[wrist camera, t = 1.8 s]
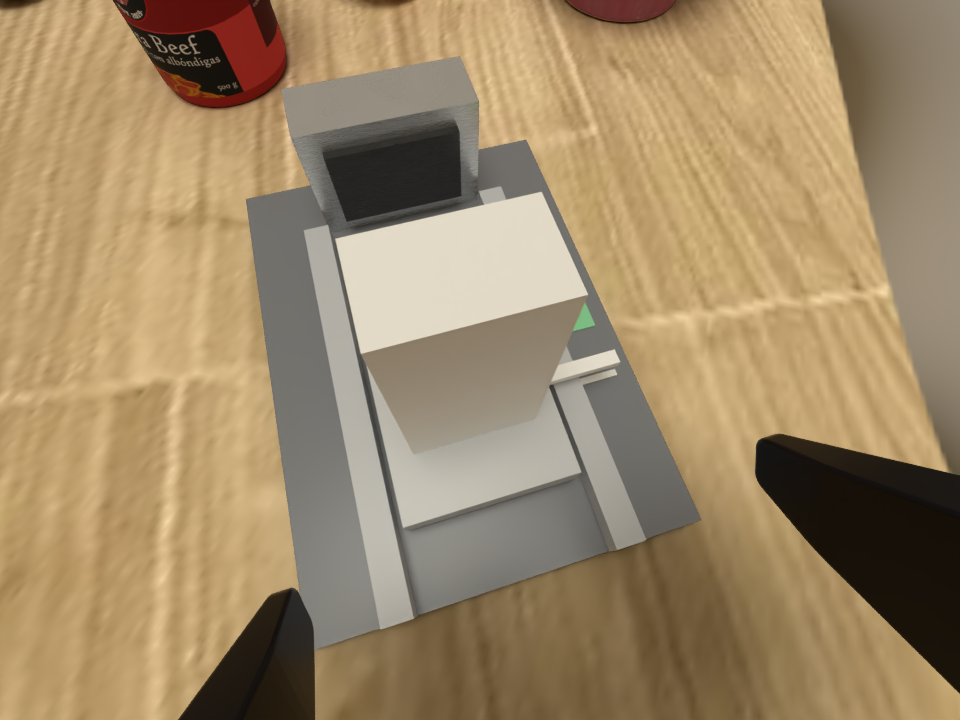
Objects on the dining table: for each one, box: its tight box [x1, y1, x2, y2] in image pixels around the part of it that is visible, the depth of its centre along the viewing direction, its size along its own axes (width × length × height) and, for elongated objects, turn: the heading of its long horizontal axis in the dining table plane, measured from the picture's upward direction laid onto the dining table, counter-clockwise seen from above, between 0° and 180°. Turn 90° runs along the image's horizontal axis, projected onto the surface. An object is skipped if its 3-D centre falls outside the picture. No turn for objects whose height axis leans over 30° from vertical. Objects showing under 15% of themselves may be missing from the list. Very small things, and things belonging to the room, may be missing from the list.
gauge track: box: [246, 140, 701, 650], centre depth 23 cm, size 22×16×2 cm
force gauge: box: [335, 192, 620, 531], centre depth 16 cm, size 8×10×11 cm
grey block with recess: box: [281, 56, 479, 233], centre depth 23 cm, size 3×8×6 cm, turn 107°
